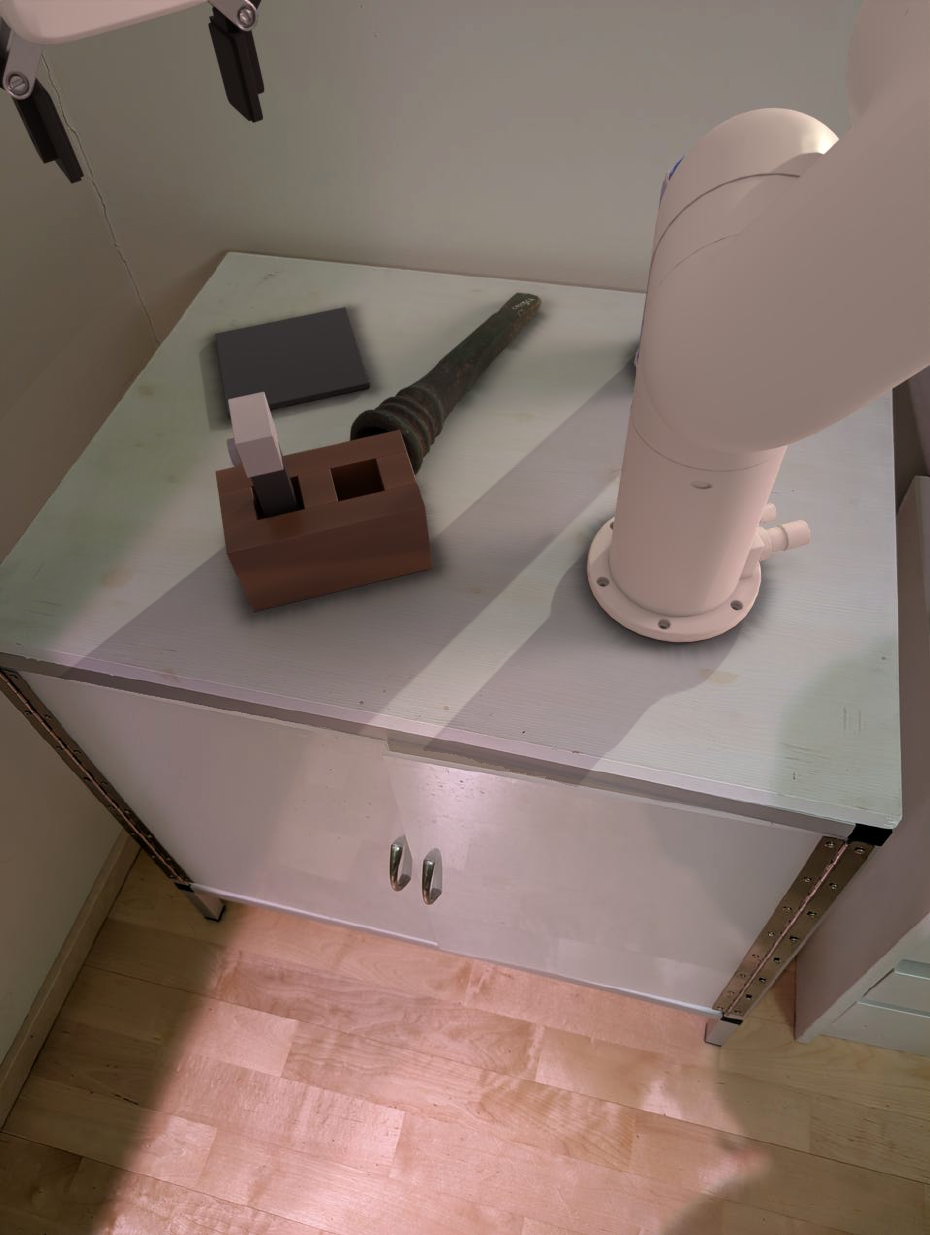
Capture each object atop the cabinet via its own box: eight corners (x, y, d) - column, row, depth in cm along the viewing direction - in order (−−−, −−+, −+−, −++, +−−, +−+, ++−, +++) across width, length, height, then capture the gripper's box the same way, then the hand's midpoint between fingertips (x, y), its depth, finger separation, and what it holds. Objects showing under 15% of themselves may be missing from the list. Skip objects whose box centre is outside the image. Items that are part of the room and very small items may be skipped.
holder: (240, 532, 67) (215, 470, 62) (409, 493, 69) (399, 429, 63) (252, 612, 63) (226, 553, 57) (433, 568, 64) (425, 506, 58)
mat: (346, 311, 83) (345, 306, 83) (370, 387, 77) (369, 382, 76) (216, 338, 82) (214, 333, 81) (229, 418, 75) (227, 413, 75)
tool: (414, 500, 68) (406, 440, 63) (351, 470, 71) (338, 410, 65) (578, 319, 81) (583, 255, 75) (521, 298, 83) (522, 235, 78)
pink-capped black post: (309, 534, 67) (263, 391, 55) (318, 576, 64) (272, 435, 52) (272, 543, 66) (218, 401, 55) (279, 585, 64) (225, 446, 52)
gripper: (-271, -319, 25) (14, 230, 39) (261, -398, 29) (342, 117, 43) (-293, -345, 28) (-26, 164, 42) (182, -411, 33) (280, 67, 47)
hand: (160, 140), depth 43 cm, fingers open, 9 cm apart
